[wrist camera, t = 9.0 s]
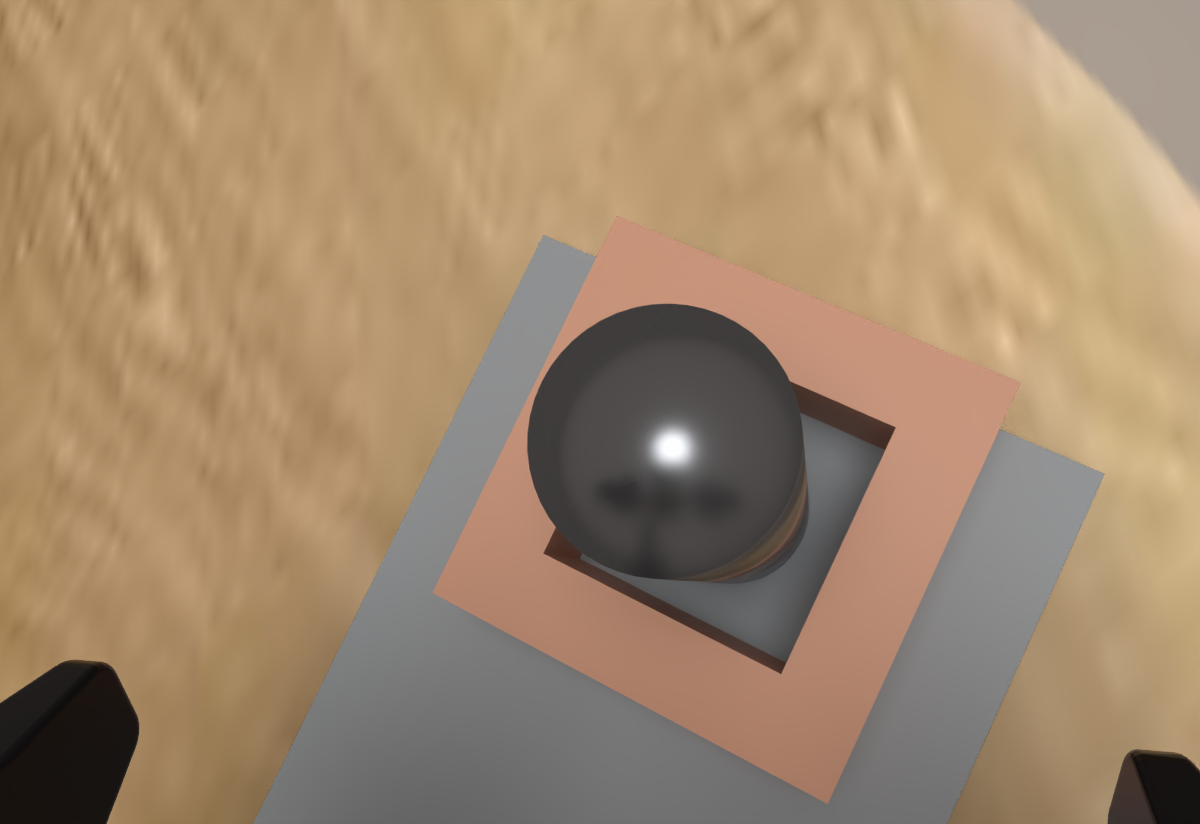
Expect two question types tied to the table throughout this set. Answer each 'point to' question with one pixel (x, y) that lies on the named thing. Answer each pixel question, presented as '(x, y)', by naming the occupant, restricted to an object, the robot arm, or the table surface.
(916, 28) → the table surface
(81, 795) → the robot arm
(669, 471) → the peg
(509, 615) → the socket base
